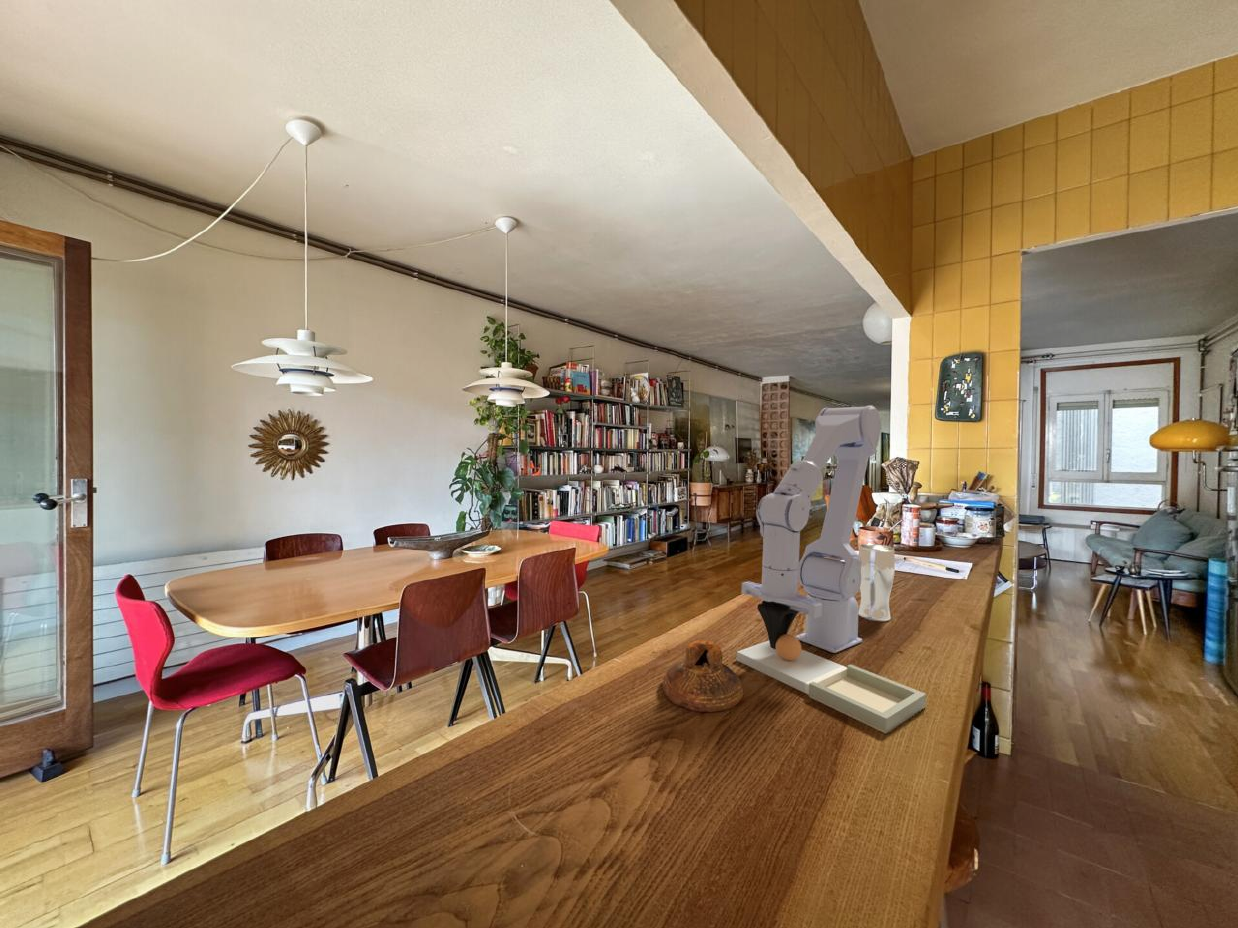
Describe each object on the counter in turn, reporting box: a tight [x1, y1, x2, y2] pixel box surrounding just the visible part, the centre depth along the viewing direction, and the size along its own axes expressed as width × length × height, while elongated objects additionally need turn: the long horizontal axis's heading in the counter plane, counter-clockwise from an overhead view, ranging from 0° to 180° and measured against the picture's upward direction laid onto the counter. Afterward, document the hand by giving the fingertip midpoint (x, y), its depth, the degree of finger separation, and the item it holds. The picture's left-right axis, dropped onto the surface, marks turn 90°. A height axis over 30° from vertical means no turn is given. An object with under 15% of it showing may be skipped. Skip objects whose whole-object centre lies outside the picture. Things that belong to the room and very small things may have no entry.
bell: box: [662, 639, 744, 713], centre depth 73 cm, size 12×12×7 cm
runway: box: [736, 640, 847, 696], centre depth 80 cm, size 10×14×2 cm
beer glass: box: [858, 543, 896, 622], centre depth 105 cm, size 7×7×15 cm
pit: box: [808, 663, 927, 735], centre depth 70 cm, size 11×11×2 cm
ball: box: [776, 633, 802, 660], centre depth 81 cm, size 4×4×4 cm
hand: (777, 647), depth 82 cm, fingers closed, pressing on ball
